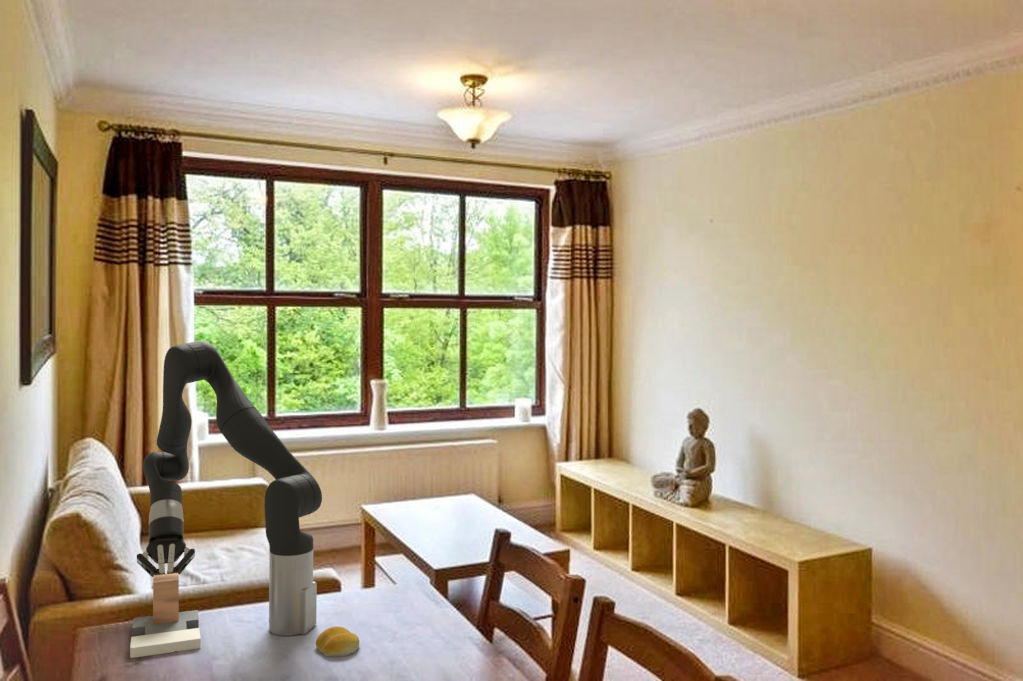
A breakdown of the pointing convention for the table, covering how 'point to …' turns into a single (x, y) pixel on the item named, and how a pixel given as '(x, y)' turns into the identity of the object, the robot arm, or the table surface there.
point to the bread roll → (337, 642)
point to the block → (165, 598)
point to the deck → (165, 624)
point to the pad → (165, 642)
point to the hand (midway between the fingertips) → (166, 591)
